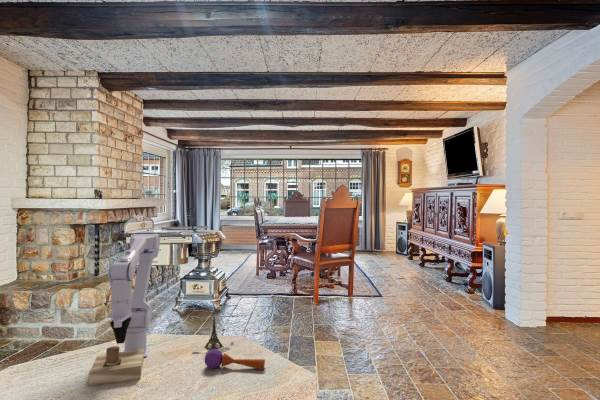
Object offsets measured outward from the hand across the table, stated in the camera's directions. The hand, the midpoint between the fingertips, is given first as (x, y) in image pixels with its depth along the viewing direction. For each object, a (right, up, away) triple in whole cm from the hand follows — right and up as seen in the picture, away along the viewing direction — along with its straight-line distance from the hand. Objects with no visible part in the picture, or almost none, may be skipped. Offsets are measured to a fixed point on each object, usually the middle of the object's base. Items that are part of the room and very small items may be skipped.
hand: (120, 342), depth 112 cm
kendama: (+35, -11, +5) cm, 37 cm away
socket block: (-1, -10, +1) cm, 10 cm away
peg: (-2, -10, -1) cm, 10 cm away
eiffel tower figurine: (+24, -11, +21) cm, 34 cm away
